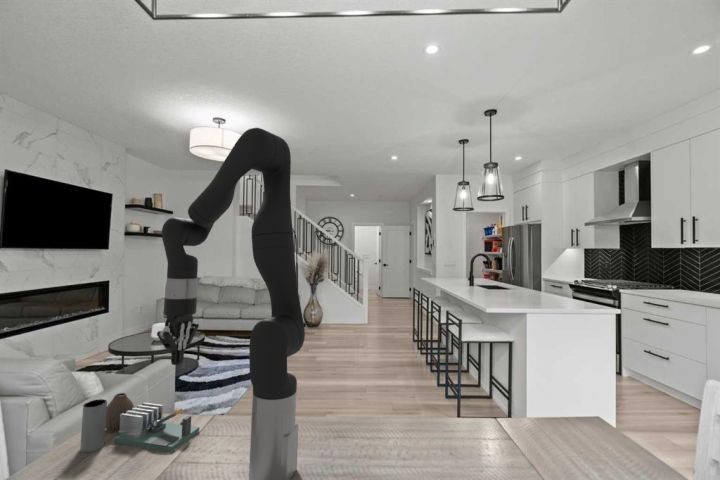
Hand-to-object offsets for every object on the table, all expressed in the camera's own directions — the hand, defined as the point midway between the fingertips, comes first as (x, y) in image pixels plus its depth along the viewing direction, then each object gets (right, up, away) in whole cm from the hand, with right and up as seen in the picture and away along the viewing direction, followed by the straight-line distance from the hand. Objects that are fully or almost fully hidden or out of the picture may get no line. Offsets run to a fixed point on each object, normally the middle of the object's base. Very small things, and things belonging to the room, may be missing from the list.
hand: (177, 364), depth 90 cm
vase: (-17, -18, +2) cm, 25 cm away
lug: (+3, -17, -1) cm, 17 cm away
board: (-4, -18, -1) cm, 18 cm away
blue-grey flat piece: (-2, -14, 0) cm, 14 cm away
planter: (-16, -18, -7) cm, 25 cm away
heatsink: (-8, -17, 0) cm, 19 cm away
